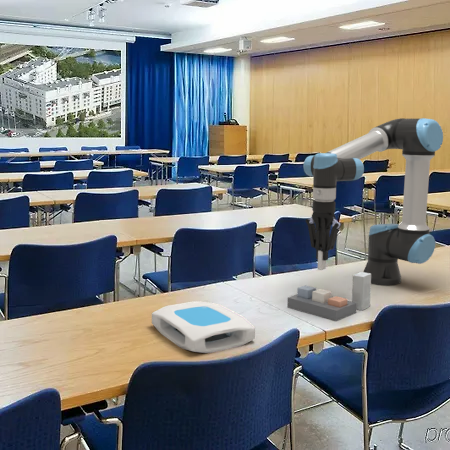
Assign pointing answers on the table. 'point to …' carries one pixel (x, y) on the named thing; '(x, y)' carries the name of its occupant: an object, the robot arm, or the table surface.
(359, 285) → the skincare box
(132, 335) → the table surface
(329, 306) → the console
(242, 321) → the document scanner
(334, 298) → the terracotta key
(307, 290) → the slate key
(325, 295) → the white key
